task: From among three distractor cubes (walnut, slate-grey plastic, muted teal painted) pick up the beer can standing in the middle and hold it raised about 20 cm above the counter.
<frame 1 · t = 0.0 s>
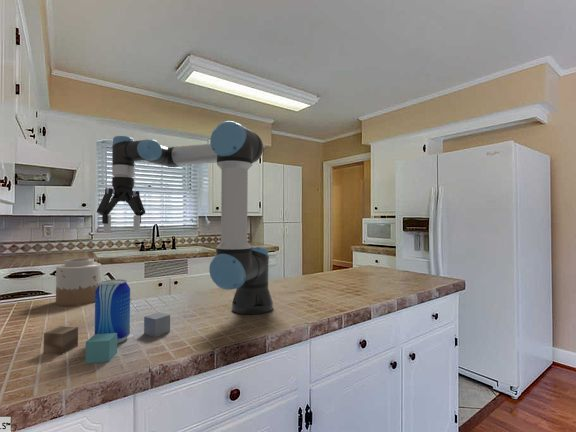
hand: (122, 232, 122), 28 cm above the countertop, fingers open, 13 cm apart
walnut cube: (61, 349, 80), on the countertop
vase: (79, 301, 127), on the countertop
grey cube: (157, 332, 92), on the countertop
teal cube: (101, 358, 75), on the countertop
beer can: (112, 341, 86), on the countertop
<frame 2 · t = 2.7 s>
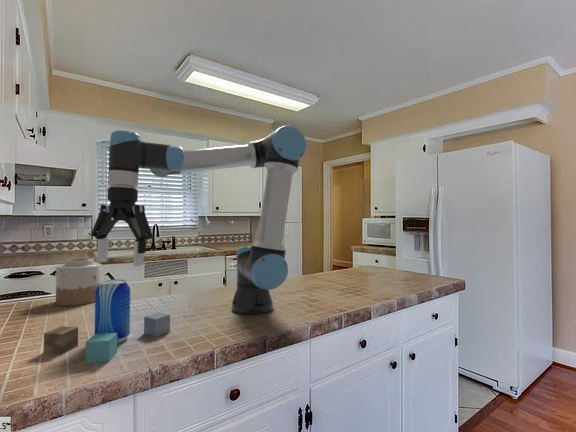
hand: (119, 263, 88), 21 cm above the countertop, fingers open, 13 cm apart
nothing on the countertop moved.
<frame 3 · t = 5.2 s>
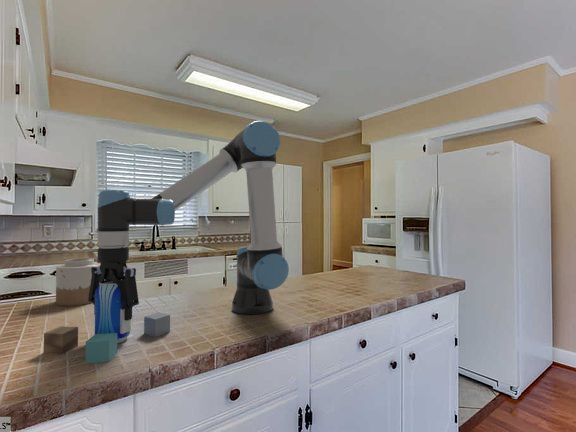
hand: (112, 329, 86), 3 cm above the countertop, fingers closed on beer can, 8 cm apart
beer can: (112, 340, 86), on the countertop, touching gripper
everything else where it was.
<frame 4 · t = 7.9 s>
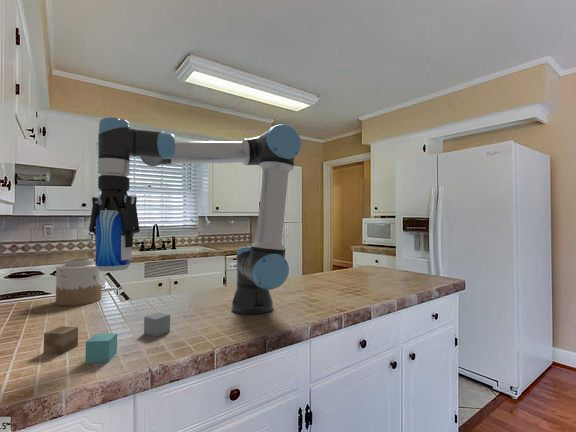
hand: (113, 258, 86), 22 cm above the countertop, fingers closed on beer can, 8 cm apart
beer can: (113, 269, 86), point 19 cm above the countertop, touching gripper
everything else where it was.
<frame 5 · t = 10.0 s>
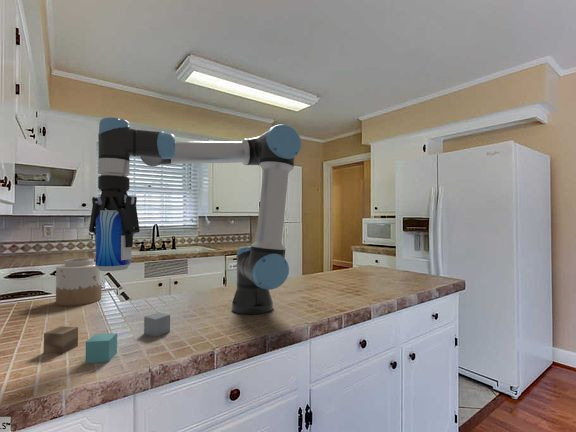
hand: (113, 258, 86), 22 cm above the countertop, fingers closed on beer can, 8 cm apart
beer can: (113, 269, 86), point 19 cm above the countertop, touching gripper
everything else where it was.
at the end: the gripper is holding beer can; beer can point 19.2 cm above the countertop; walnut cube moved 0.1 cm from its start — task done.
